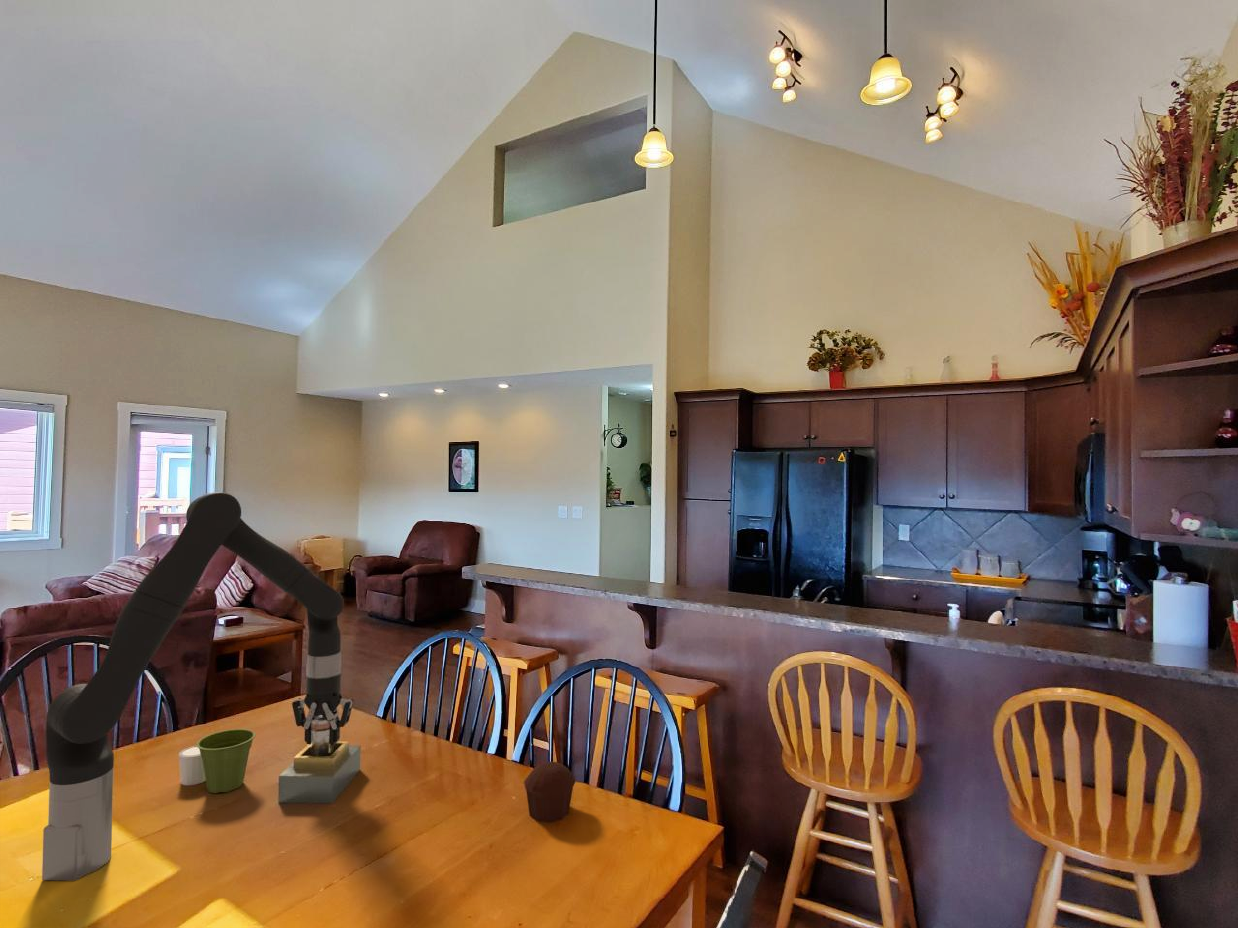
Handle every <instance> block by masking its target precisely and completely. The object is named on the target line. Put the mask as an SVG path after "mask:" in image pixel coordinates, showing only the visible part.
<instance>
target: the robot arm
mask: <svg viewBox="0 0 1238 928" xmlns="http://www.w3.org/2000/svg"><path fill="white" fill-rule="evenodd" d="M185 514H186V515H185V518H186V524H185V525H184V527H183V528H182V531H181V532H180V534H179V536H178V537H177V539H176V541H175V542H174V543H173V545H172V547H171V548H170V549H168V552H166V554H165V555H164V556H162V558H161V559H160V560H159V561H158V562H157V563H156V564H155V566H153V568H151V570H150V571H149V572H148V573H147V574H146V576H145V577H144V578H143V579H142V581H140V583H139V584H138V585H137V587H136V588H135V590H134V591H133V593H132V594H131V596H130V597H129V599H128V600H127V602H126V603H125V605H124V606H123V608H122V609H121V611H120V613H119V614H118V617H117V620H116V622H115V625H114V628H113V631H112V634H111V638H110V642H109V645H108V647H107V651H106V652H105V656H104V658H103V660H102V662H101V664H100V665H99V667H98V668H97V669H96V671H95V672H94V674H93V676H91V678H90V680H89V681H88V682H87V683H78V684H75V685H71V686H69V687H68V688H66V689H64V690H62V691H61V692H60V693H59V694H57V695H56V696H55V698H54V699H53V700H52V701H51V703H50V705H49V706H48V709H47V713H46V719H45V720H46V721H45V741H46V742H45V751H46V752H45V755H46V756H45V757H46V758H45V759H46V762H47V767H48V773H49V778H48V779H49V785H48V786H49V792H48V795H49V796H48V816H47V817H48V823H47V825H45V827H44V828H43V831H42V833H43V835H42V837H43V838H42V870H41V871H42V872H41V880H42V881H78V880H79V878H82V877H83V876H86V875H88V874H91V873H93V872H96V871H97V870H98V869H100V868H102V867H103V866H105V865H106V864H107V863H108V862H110V860H111V858H112V841H113V840H112V839H113V838H112V835H113V801H114V798H113V795H114V769H115V768H114V767H115V766H114V765H115V764H114V763H115V755H114V750H113V749H112V746H111V742H110V740H109V733H110V731H111V730H113V728H114V727H115V726H116V724H118V722H119V720H120V718H121V716H122V714H123V713H124V712H125V709H126V707H127V705H128V703H129V700H130V699H131V696H132V695H133V692H134V690H135V688H136V686H137V685H138V682H139V681H140V679H141V677H142V675H143V674H144V671H145V669H146V668H147V667H148V665H149V663H150V662H151V660H152V659H153V657H154V656H155V654H156V653H157V651H158V649H159V648H160V647H161V644H162V643H163V641H164V639H165V638H166V637H167V635H168V634H169V632H170V631H171V629H172V628H173V627H174V625H175V623H176V621H177V620H178V618H179V617H180V615H181V613H182V612H183V610H184V609H185V607H186V606H187V603H188V602H189V600H190V598H191V597H192V595H193V593H194V592H195V590H196V587H197V585H199V582H200V580H201V578H202V576H203V575H204V572H205V570H206V569H207V566H208V565H209V563H210V561H211V560H212V558H213V557H214V555H215V554H216V553H217V551H218V550H219V549H220V547H221V546H223V547H224V548H226V549H227V550H228V551H230V552H231V553H233V554H235V555H237V556H238V557H239V558H240V559H242V560H244V561H245V562H247V564H249V565H250V566H251V567H252V568H254V569H255V570H256V571H258V572H259V573H260V574H261V575H263V577H265V578H266V579H268V580H269V581H270V582H272V583H273V584H274V585H275V586H277V587H278V588H279V589H280V590H282V591H283V592H284V593H286V594H288V595H289V596H291V597H293V598H294V599H296V600H297V602H298V603H300V604H301V605H302V606H303V607H304V608H305V609H306V614H307V615H306V616H307V617H306V618H307V625H308V639H307V640H308V642H307V643H308V644H307V660H306V666H305V667H306V669H305V670H306V674H305V675H306V676H305V694H306V695H305V696H304V698H302V697H298V698H296V700H294V701H293V702H292V703H291V707H292V710H293V715H294V719H295V724H296V727H302V728H303V729H304V742H305V743H306V746H307V745H310V744H311V720H312V719H313V718H314V717H316V716H319V715H323V716H327V719H328V721H330V724H331V727H332V729H331V745H335V744H336V743H337V741H340V737H341V728H343V727H345V726H346V725H347V724H348V723H349V721H350V718H351V717H350V716H351V714H352V709H353V706H354V703H355V702H354V699H353V698H350V699H347V698H343V697H342V694H341V688H342V686H341V685H342V678H341V677H342V670H343V669H342V668H343V667H342V657H341V656H342V655H341V654H342V653H341V647H342V646H341V641H342V640H341V639H342V637H341V636H342V635H341V630H340V628H339V625H338V616H340V615H341V613H342V612H343V610H344V607H345V601H344V600H345V599H344V598H343V596H342V594H341V593H340V592H339V591H338V590H337V589H335V588H334V587H332V586H331V585H329V584H328V583H326V581H324V580H322V579H321V578H319V577H318V576H317V575H315V573H314V572H313V571H312V570H311V569H310V568H309V567H308V566H306V565H305V564H304V563H302V562H301V560H299V559H298V558H297V557H295V556H294V555H292V553H290V552H288V551H287V550H286V549H283V548H282V547H281V546H278V545H277V544H275V543H273V542H272V541H270V540H268V539H267V538H265V537H263V536H262V535H261V534H259V533H258V532H257V531H256V530H254V529H253V528H252V527H250V526H249V525H248V524H247V523H246V522H245V521H244V520H243V519H242V517H241V516H242V508H241V504H240V502H239V501H238V499H237V498H236V497H235V496H233V495H232V494H230V493H229V492H228V493H227V492H221V491H215V492H210V493H205V494H203V495H201V496H199V497H197V498H195V499H194V500H193V501H192V502H191V503H190V504H189V506H188V507H187V509H186V513H185ZM305 705H306V707H307V708H308V710H309V711H308V713H307V716H306V712H305ZM339 705H340V706H341V709H342V711H341V712H342V713H341V715H340V712H339V709H338V707H339ZM340 716H341V717H340Z"/></svg>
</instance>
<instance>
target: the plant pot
mask: <svg viewBox="0 0 1238 928" xmlns="http://www.w3.org/2000/svg"><path fill="white" fill-rule="evenodd" d="M255 737H256V732H255V731H254V730H252V729H248V728H234V729H227V730H220V731H216V732H213V733H210V734H208V735H205V736H204V737H202V738H200V739H199V740H198V741H196V744H195V746H197V747H198V748H199V749H200V754H201V757H202V760H203V766H204V772H205V778H206V781H205V784H206V788H207V790H206V791H208V792H209V793H212V794H218V793H229V792H232V791H234V790H237V789H238V788H240V787H241V786H242V784H243V783H244V782H245V781H244V780H245V776H246V769H247V765H248V759H249V754H250V749H251V748H252V744H253V740H254V738H255Z"/></svg>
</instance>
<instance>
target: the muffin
mask: <svg viewBox="0 0 1238 928" xmlns="http://www.w3.org/2000/svg"><path fill="white" fill-rule="evenodd" d="M523 783H524V788H525V790H526V791H525V792H526V798H527V804H528V805H527V806H528V814H529V817H531V818H533V819H534V820H535V821H536V822H545V823H552V822H557V821H562V820H563V819H564V817H566V816H568V815H569V813H570V808H571V807H570V806H571V801H572V795H573V790H574V786H575V785H576V784H575V783H576V779H575V777H574V775H573V773H572V772H571V771H570V769H569V768H568V767H566V766H565V765H563V764H562V763H560V762H556V761H546V762H543V763H541V764H539V765H537V766H535V767H534V768H533V769H532V770H531V771H530V772H529V774H528V775H527V777H526V778H525V779H524V781H523Z"/></svg>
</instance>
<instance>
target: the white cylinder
mask: <svg viewBox="0 0 1238 928" xmlns="http://www.w3.org/2000/svg"><path fill="white" fill-rule="evenodd" d="M178 760H179V761H178V762H179V772H180V773H179V774H180V784H181V785H182V786H194V785H199V784H201V783H204V782H206V778H205V772H204V766H203V760H202V757H201V754H200V749H199V748H198V747H197V745H192V746H190V747H189V746H188V747H186V748H184V749H182V750H180V752H179V753H178Z"/></svg>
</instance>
